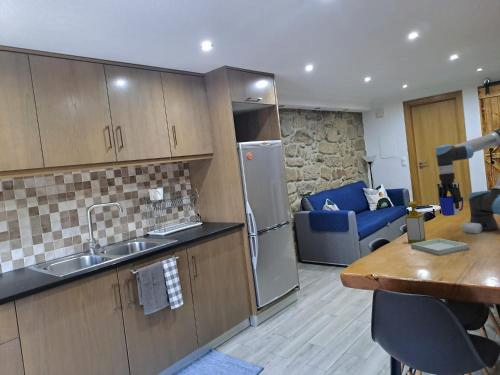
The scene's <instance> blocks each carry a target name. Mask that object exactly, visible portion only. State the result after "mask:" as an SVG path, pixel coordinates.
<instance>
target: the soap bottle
mask: <svg viewBox="0 0 500 375" xmlns="http://www.w3.org/2000/svg"><path fill="white" fill-rule="evenodd" d="M418 203H419V201H409V202H408V203H407V205H408V207H410V208H411V210H410V211H409V214H407V215H406V216H405V218H404V219H405V226H406V233H407V244H408V245H409V244H410V245H411V244H412V243H418V242H423V241H427V239H426V231H425V223H424V214H421V213H419V214H418V210H417V209H415V207H417V206H418Z"/></svg>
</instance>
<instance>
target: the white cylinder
mask: <svg viewBox="0 0 500 375" xmlns="http://www.w3.org/2000/svg"><path fill="white" fill-rule="evenodd" d="M461 229H462V231H463V233H466V234H467V233H468V234H475V235H476V234H478V235H479V234H481V233H482V226H481V224H479V223H470V222H463V223H462V226H461Z"/></svg>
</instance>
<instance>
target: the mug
mask: <svg viewBox="0 0 500 375" xmlns="http://www.w3.org/2000/svg"><path fill="white" fill-rule="evenodd" d="M461 199H462V201H461V207H460V208H459V212H461V211H462V210H463V208H464V197H463V196H461ZM438 202H439V207H440V212H441V214H442V216H446V217H450V216H455V215H454V205H453V202H454V201H453V197H452V196H451V195H450V196H449V195H447V196H446V197H445V198H443V197H440V198H439V197H438Z"/></svg>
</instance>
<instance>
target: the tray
mask: <svg viewBox="0 0 500 375" xmlns="http://www.w3.org/2000/svg"><path fill="white" fill-rule="evenodd" d="M410 248H411V249H412V250H416V251H418V252H423V253H426V254H430V255H434V256H444V255H448V254H453V253H457V252H458V253H459V252H463V251H467V250H470V245H469V243H464V242H459V241H454V240H451V239H450V240H449V239H444V238H441V237H440V238H434V239H428V240H426V241H423V242H418V243H412V244H410Z"/></svg>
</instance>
